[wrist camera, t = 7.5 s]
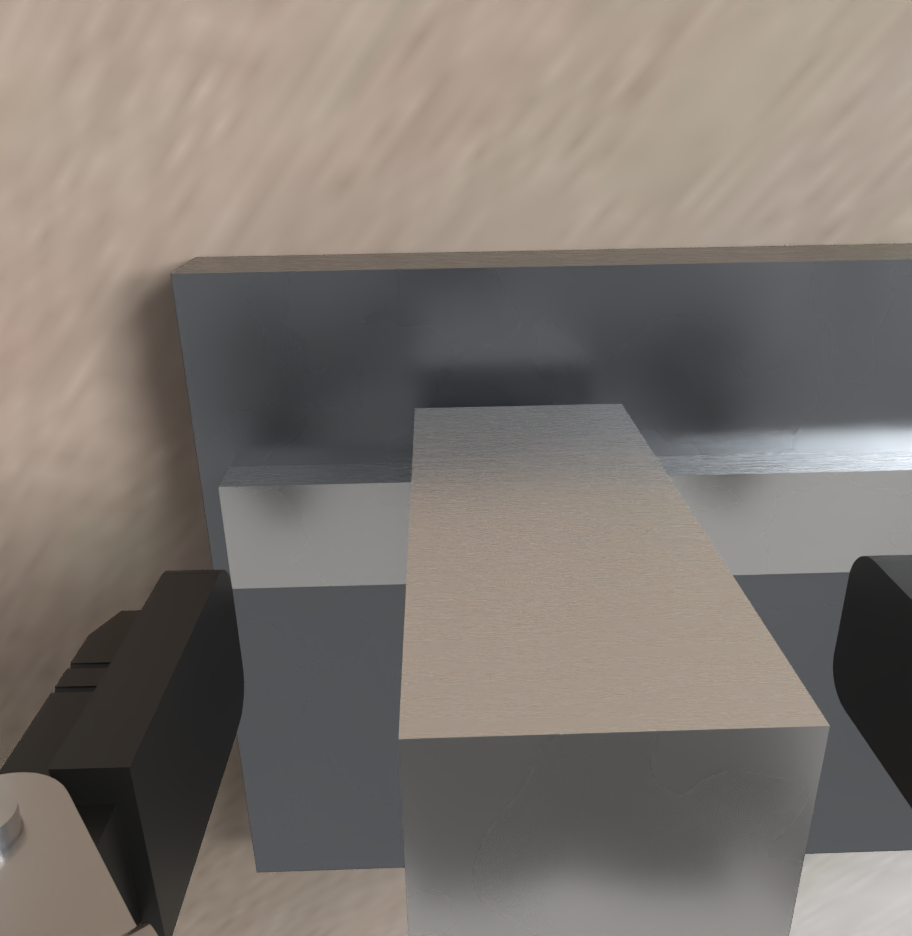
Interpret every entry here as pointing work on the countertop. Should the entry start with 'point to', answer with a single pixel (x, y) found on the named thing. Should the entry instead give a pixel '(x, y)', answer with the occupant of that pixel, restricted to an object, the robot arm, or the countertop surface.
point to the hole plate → (531, 384)
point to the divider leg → (587, 695)
